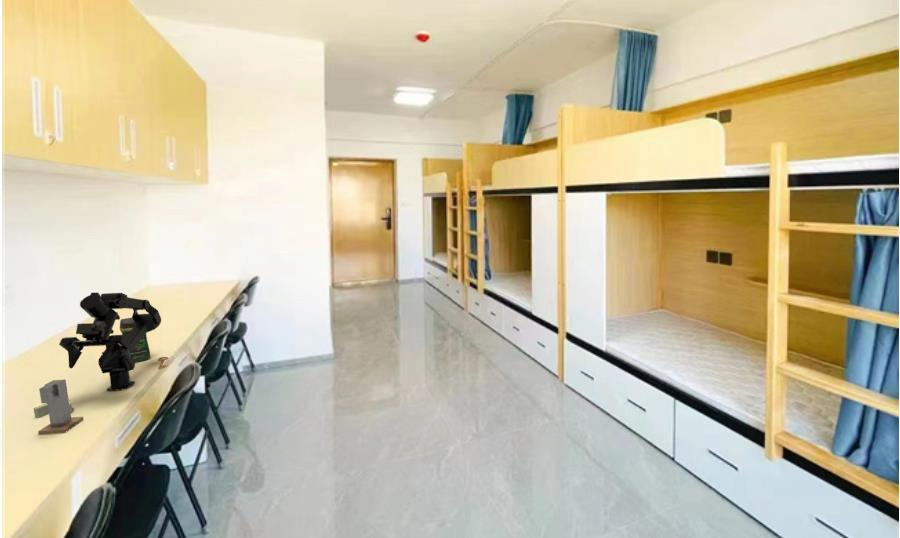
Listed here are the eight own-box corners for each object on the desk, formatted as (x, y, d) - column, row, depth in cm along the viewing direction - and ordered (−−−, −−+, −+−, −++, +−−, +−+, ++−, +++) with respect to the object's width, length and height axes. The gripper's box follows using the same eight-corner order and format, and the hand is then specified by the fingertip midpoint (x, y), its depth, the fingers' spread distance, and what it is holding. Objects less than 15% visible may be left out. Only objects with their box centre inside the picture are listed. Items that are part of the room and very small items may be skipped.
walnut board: (58, 421, 139) (58, 418, 139) (83, 419, 140) (83, 416, 140) (38, 434, 131) (38, 431, 131) (65, 432, 132) (64, 429, 132)
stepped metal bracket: (59, 421, 137) (53, 380, 135) (71, 420, 137) (65, 379, 135) (43, 432, 131) (36, 388, 129) (56, 431, 131) (49, 388, 129)
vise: (55, 408, 148) (54, 400, 147) (76, 411, 146) (74, 402, 145) (35, 417, 142) (33, 408, 142) (55, 420, 140) (54, 410, 140)
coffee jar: (124, 365, 188) (118, 321, 185) (122, 360, 194) (117, 317, 191) (152, 359, 194) (147, 317, 191) (149, 355, 200) (145, 313, 197)
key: (170, 369, 184) (174, 358, 197) (170, 367, 184) (174, 355, 197) (153, 370, 182) (158, 359, 195) (153, 368, 181) (158, 357, 195)
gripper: (58, 313, 149) (38, 357, 139) (120, 311, 151) (103, 354, 142) (78, 330, 158) (60, 372, 148) (136, 327, 160) (121, 369, 150)
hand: (86, 367), depth 147 cm, fingers open, 9 cm apart
